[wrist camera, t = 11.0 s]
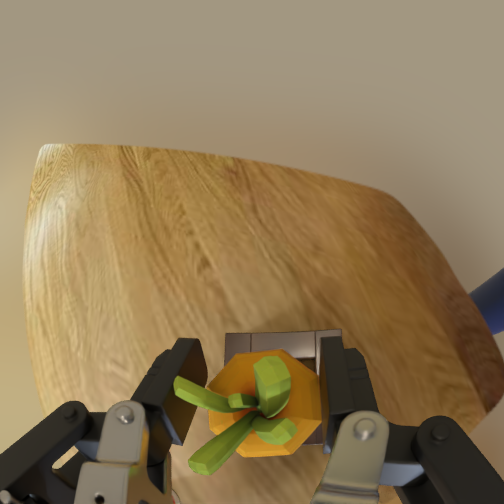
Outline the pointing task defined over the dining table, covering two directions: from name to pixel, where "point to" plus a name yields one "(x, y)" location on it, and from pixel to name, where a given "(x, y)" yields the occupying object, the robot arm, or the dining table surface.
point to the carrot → (255, 407)
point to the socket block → (293, 343)
